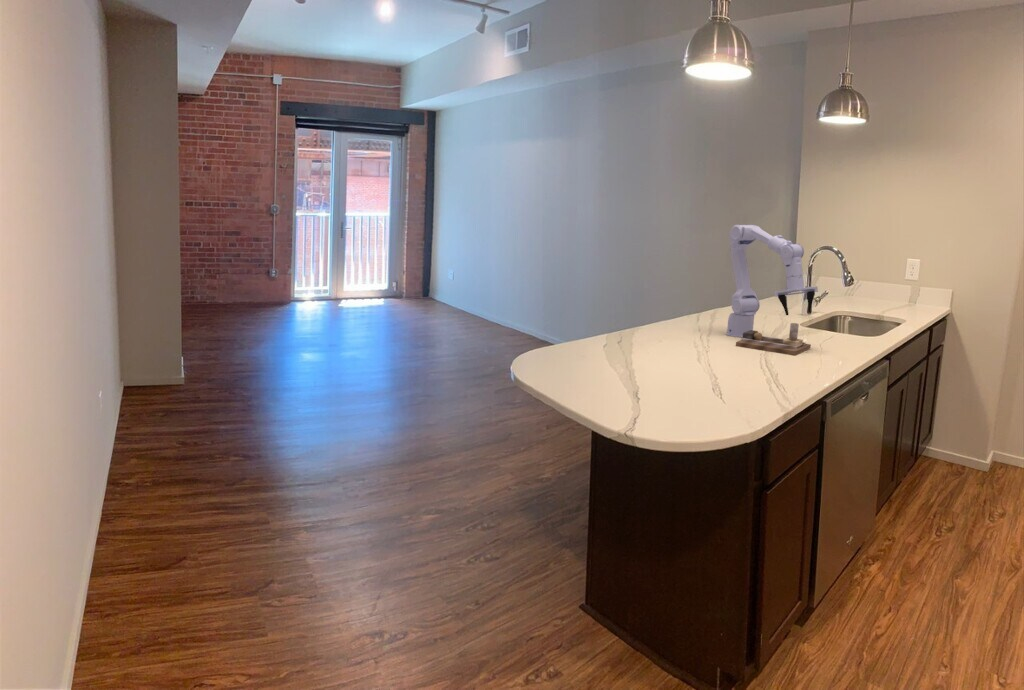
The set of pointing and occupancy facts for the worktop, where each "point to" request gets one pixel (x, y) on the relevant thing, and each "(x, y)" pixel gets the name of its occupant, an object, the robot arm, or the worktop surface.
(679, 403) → the worktop surface
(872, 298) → the worktop surface
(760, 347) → the board
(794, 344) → the press ram
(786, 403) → the worktop surface
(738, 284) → the robot arm
